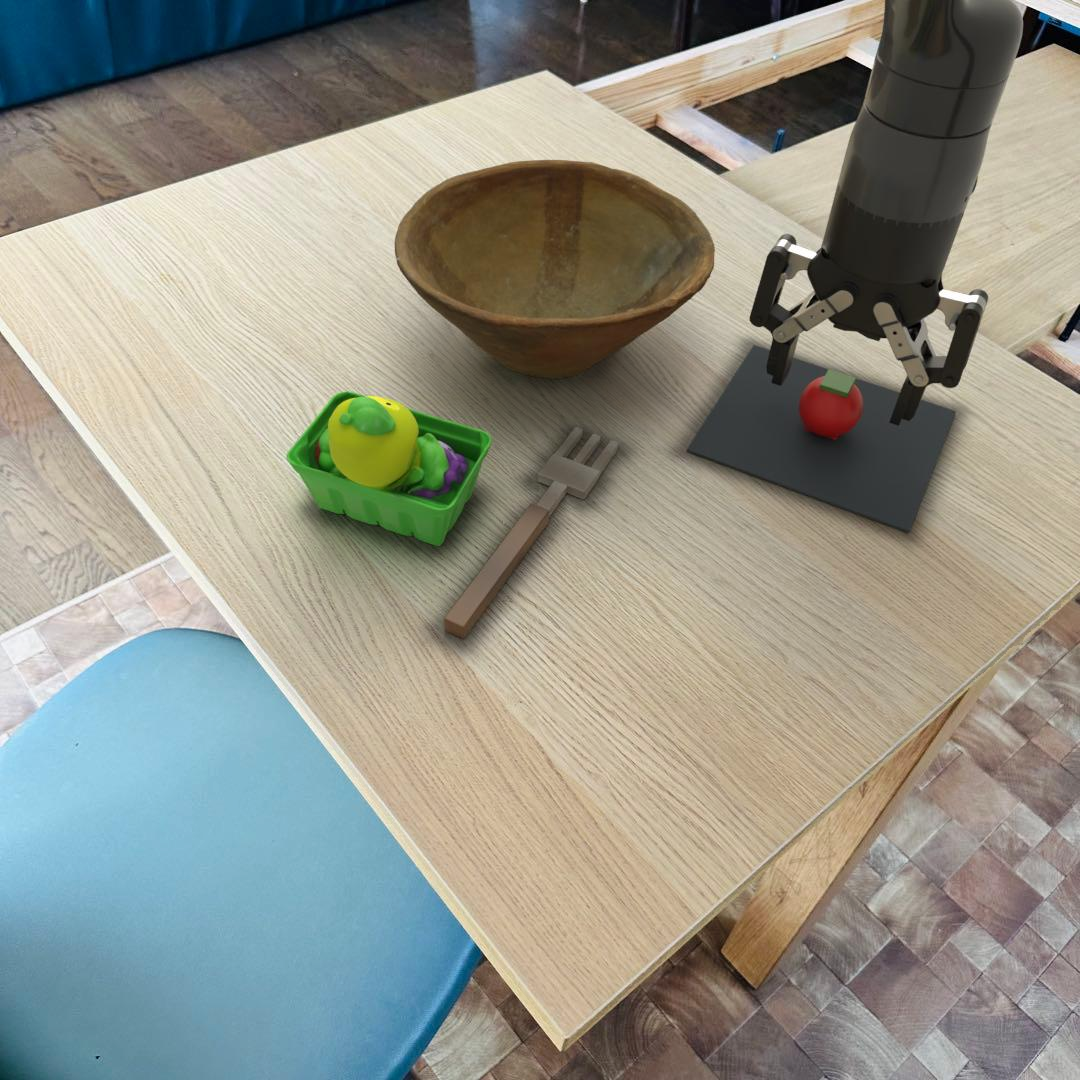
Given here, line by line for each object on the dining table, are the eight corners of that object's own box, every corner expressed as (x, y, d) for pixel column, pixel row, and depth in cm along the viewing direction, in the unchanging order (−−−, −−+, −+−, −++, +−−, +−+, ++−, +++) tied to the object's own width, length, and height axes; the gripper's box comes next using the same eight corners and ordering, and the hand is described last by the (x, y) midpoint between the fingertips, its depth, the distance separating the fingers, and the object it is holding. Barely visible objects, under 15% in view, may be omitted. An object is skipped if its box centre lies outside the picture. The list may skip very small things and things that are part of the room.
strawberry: (861, 421, 75) (877, 373, 72) (844, 457, 73) (860, 409, 69) (804, 402, 77) (817, 354, 73) (785, 437, 74) (797, 388, 71)
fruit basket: (497, 488, 70) (497, 355, 62) (442, 580, 64) (434, 448, 56) (347, 443, 72) (328, 310, 64) (282, 529, 67) (252, 394, 58)
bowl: (696, 453, 73) (719, 338, 66) (379, 424, 74) (366, 308, 66) (695, 278, 88) (714, 169, 80) (430, 256, 89) (424, 146, 81)
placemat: (955, 413, 77) (956, 410, 77) (908, 533, 68) (909, 531, 68) (753, 346, 82) (753, 344, 81) (686, 451, 73) (686, 449, 73)
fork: (573, 434, 74) (574, 421, 73) (618, 451, 73) (620, 438, 72) (428, 623, 62) (427, 611, 61) (480, 647, 61) (479, 634, 60)
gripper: (768, 181, 60) (724, 395, 72) (1015, 248, 56) (925, 464, 68) (807, 129, 65) (760, 339, 77) (1039, 188, 61) (950, 400, 73)
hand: (837, 398), depth 72 cm, fingers open, 8 cm apart
